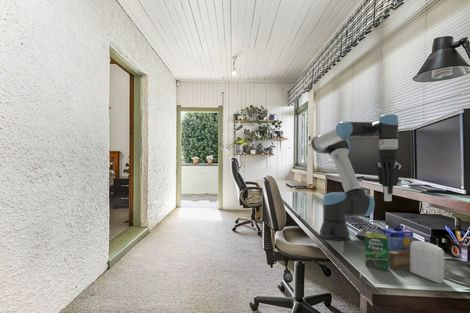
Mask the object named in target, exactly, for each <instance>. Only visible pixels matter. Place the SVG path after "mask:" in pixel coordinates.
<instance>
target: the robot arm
mask: <svg viewBox="0 0 470 313" xmlns="http://www.w3.org/2000/svg"><path fill="white" fill-rule="evenodd" d="M351 138H366V139H367V138H368V139H373V138H378V148H379V150H378V158H379V161H378V163H375V165H374V167H375V168H376V173H377V178H378V183H379V185H382V186H383V188H382V190H383V191H382V192H383V195H384V196H383V200H384V202H392V199H393V197H392V195H393V193H394V187H395V186H398V183H399V179H400V174H401V171H402V168H403V164H400V163H398V159H397V158H398V157H399V150H398V148H399V116H398V115H396V114H393V113H392V114H382V115H380V116H379V117H378V121H347V120H346V121H339V122H338V123H337V125H336V126H335V128H333V129H331V130H329V131H327V132H325V133H323V134H317V135H315V136H313V138H312V139H311V142H310V145H311V148H312V150H313V151H314V152H316V153H318V154H325V155H327V154H328V157H329V158H330V159H331V160H333V162H334V165H335V168H336V170H337V173H338V177H339V180H340V182H341V185H342V188H343V190H344V192H343V191H337V192H336V191H333V192H328V193H325V194H324V195H323V198H322V224H321V225H320V226H321V227H320V229H319V236H320V237H321V238H323V239H327V240H331V241H348V240H349V239H351V238H350V236H351V233H350V231H349V227H348V224H347V218H348V217H351V218H352V217H369V216H371V215H372V214H373V213H374V210H375V206H376V205H375V198H374V197H373V195H371V194H367V192H366V190H365V188H362V187H361V185H360V182H359V180H358V178H357V175H356V173H355V171H354V168H353V166H352V163H351V161H350V158H349V153H350V151H351V142H350V140H349V139H351Z"/></svg>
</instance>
